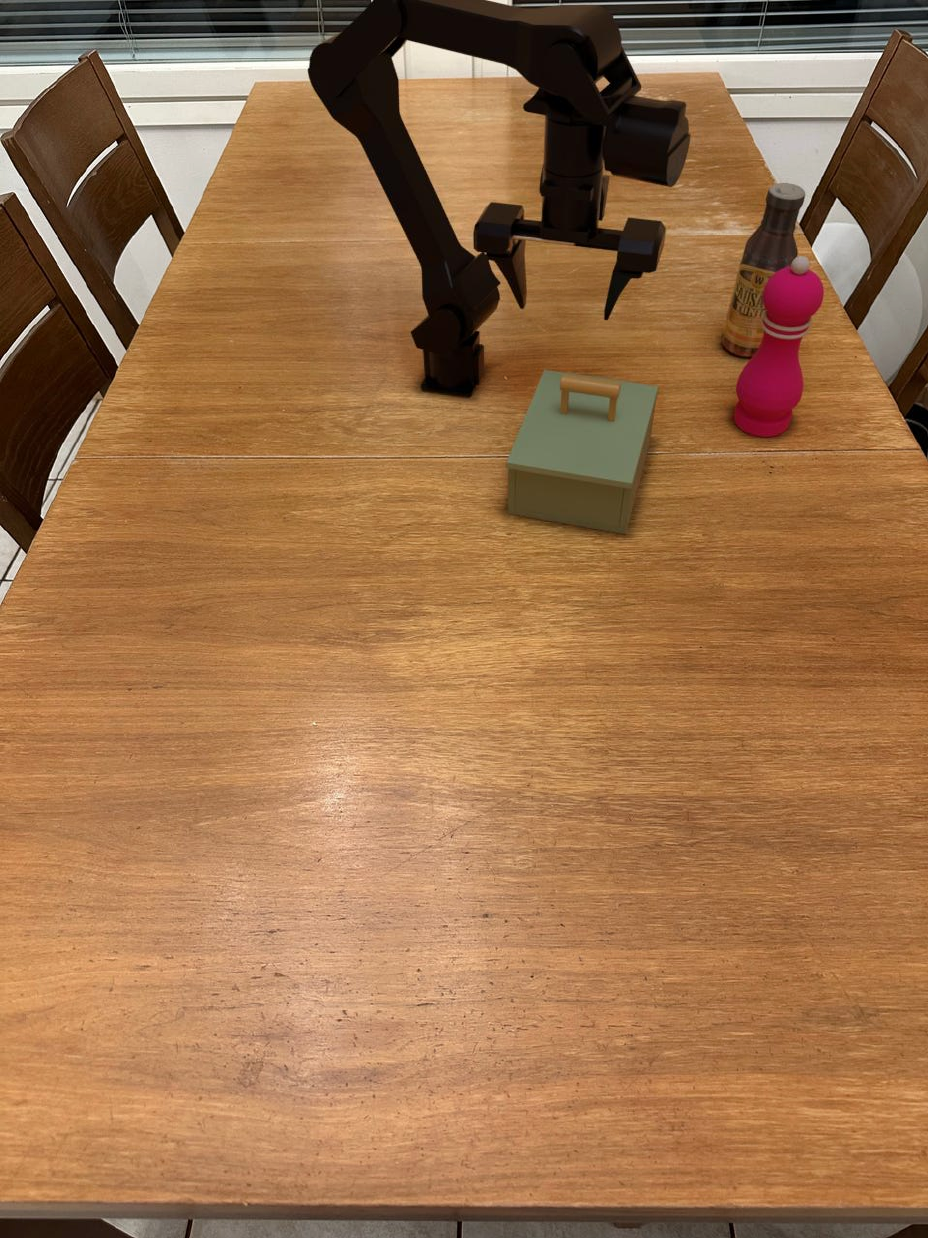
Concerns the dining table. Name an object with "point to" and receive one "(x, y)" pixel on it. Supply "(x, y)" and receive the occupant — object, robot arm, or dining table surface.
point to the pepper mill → (778, 351)
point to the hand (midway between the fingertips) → (564, 312)
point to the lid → (584, 429)
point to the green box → (575, 497)
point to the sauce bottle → (762, 268)
